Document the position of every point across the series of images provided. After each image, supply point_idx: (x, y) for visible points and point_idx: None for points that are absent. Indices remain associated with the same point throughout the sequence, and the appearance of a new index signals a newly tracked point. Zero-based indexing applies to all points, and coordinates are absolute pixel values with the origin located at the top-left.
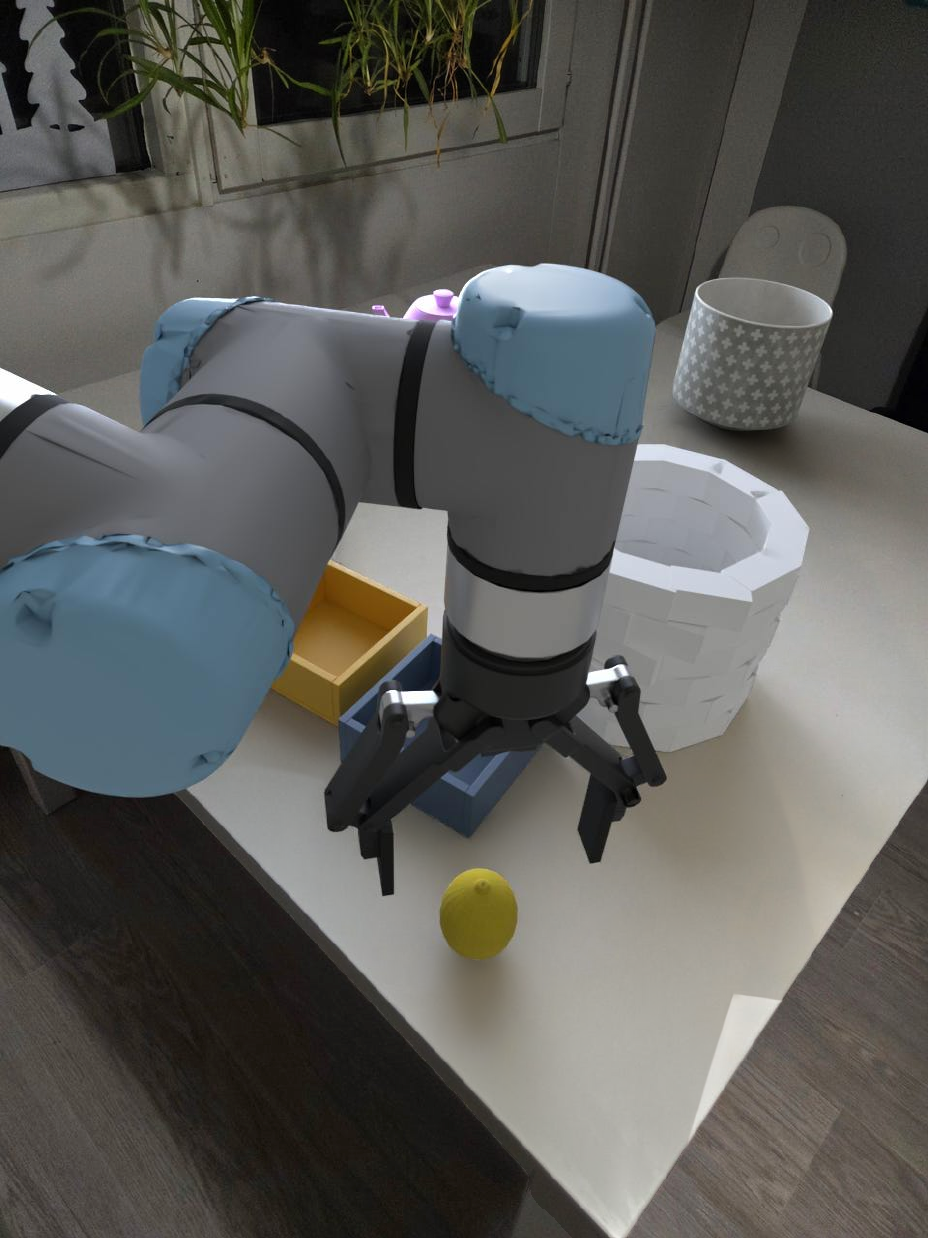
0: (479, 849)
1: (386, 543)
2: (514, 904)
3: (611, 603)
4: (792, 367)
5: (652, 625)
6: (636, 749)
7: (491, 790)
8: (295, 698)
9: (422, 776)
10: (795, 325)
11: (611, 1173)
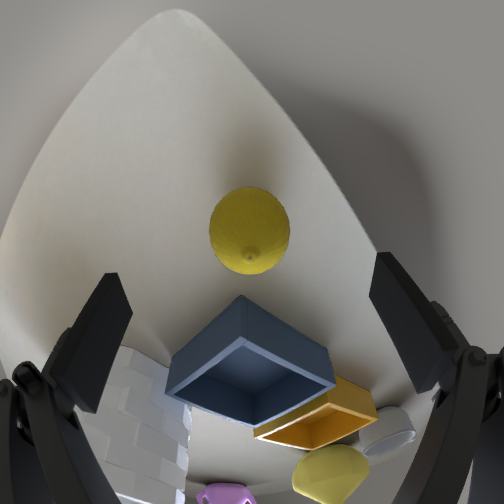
0: (233, 286)
1: (266, 444)
2: (213, 234)
3: (121, 469)
4: None
5: None
6: (5, 474)
7: (220, 334)
8: (344, 382)
9: (455, 494)
10: None
11: (166, 29)
